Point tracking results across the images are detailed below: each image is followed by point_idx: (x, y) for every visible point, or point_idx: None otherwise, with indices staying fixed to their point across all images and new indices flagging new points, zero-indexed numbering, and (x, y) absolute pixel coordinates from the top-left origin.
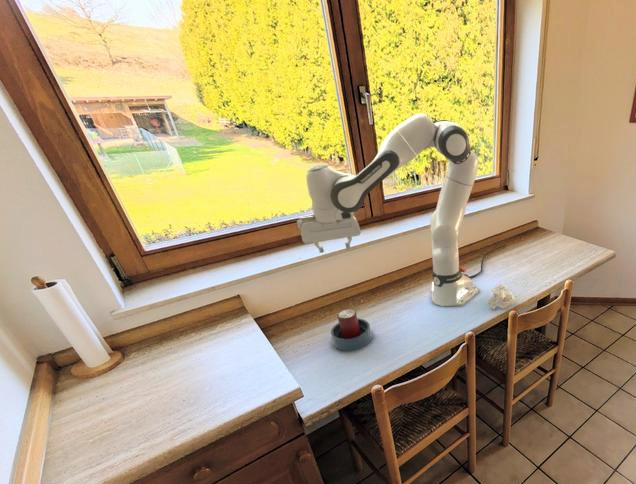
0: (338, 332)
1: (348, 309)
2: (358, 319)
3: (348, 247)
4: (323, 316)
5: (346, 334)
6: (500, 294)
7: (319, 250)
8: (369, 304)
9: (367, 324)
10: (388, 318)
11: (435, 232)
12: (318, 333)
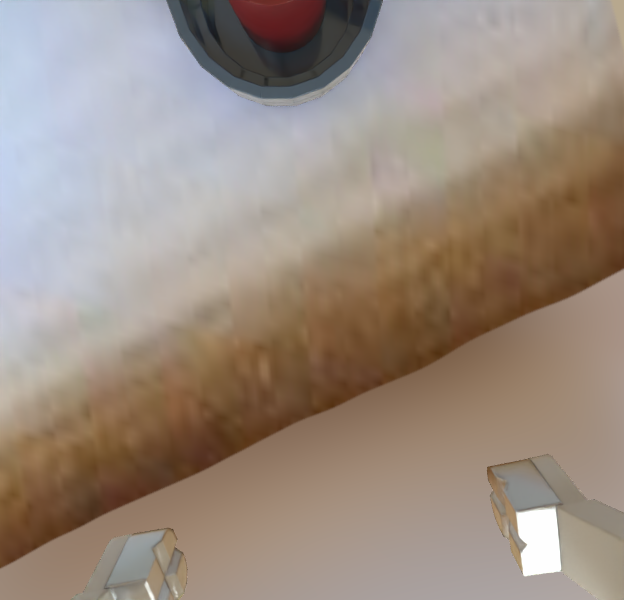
0: (348, 30)
1: (261, 2)
2: (237, 79)
3: (133, 537)
4: (433, 272)
5: None
6: None
7: (566, 475)
8: (226, 330)
9: (179, 6)
10: (117, 174)
11: None
12: (450, 118)
